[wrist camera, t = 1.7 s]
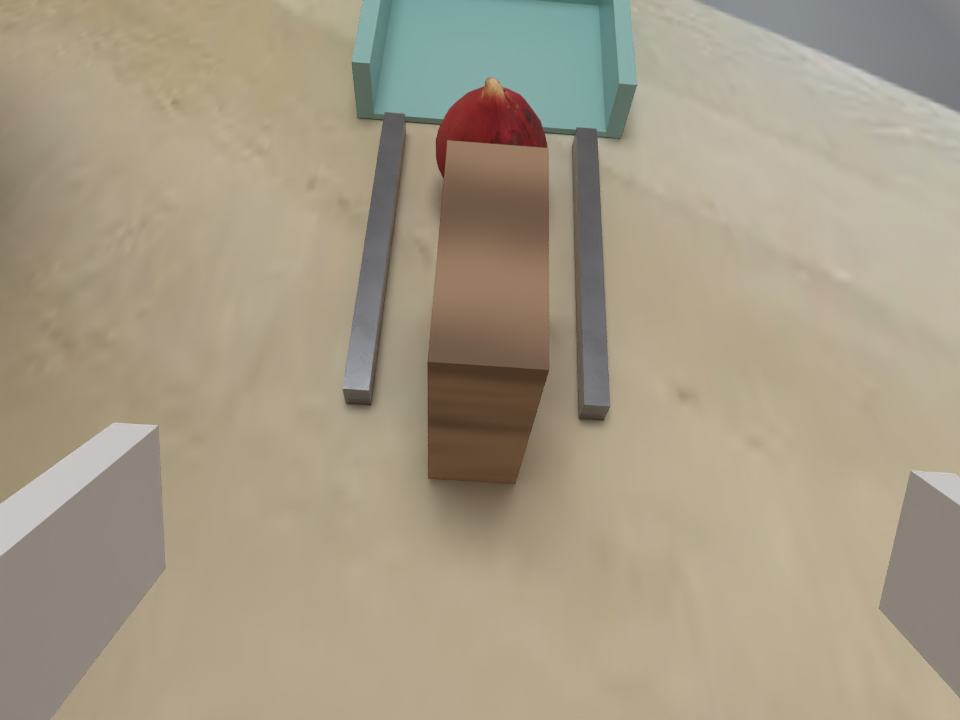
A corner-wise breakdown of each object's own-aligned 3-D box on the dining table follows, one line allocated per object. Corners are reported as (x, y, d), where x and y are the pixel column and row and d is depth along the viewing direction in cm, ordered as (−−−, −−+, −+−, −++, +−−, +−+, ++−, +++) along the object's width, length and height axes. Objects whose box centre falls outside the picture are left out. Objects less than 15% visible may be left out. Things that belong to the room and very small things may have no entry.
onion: (548, 175, 43) (571, 60, 36) (521, 249, 41) (540, 140, 34) (454, 148, 44) (459, 30, 37) (420, 219, 41) (419, 106, 34)
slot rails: (603, 419, 36) (610, 406, 34) (345, 402, 35) (342, 388, 34) (591, 147, 45) (596, 128, 43) (385, 131, 44) (384, 111, 43)
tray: (620, 138, 45) (637, 85, 42) (357, 117, 45) (351, 61, 41) (611, 2, 52) (624, -54, 48) (380, -17, 51) (377, -75, 48)
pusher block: (515, 483, 34) (549, 370, 24) (428, 478, 34) (427, 361, 24) (519, 302, 39) (548, 147, 29) (442, 296, 39) (447, 140, 29)
